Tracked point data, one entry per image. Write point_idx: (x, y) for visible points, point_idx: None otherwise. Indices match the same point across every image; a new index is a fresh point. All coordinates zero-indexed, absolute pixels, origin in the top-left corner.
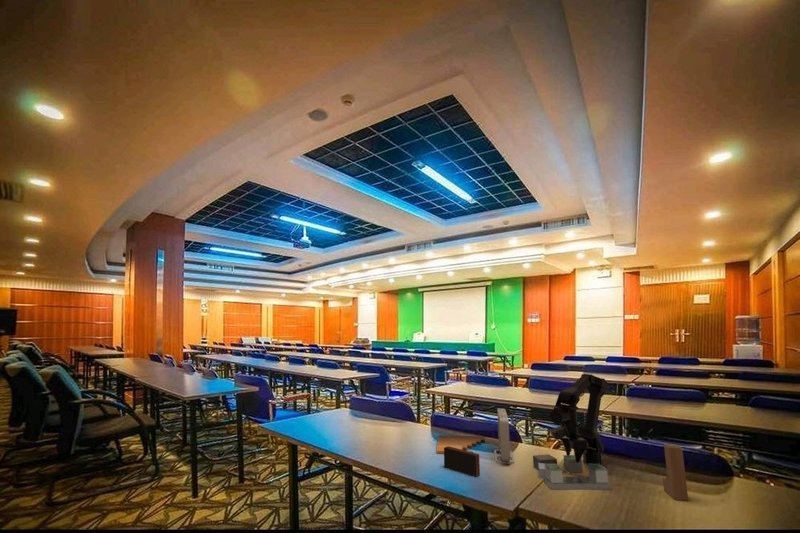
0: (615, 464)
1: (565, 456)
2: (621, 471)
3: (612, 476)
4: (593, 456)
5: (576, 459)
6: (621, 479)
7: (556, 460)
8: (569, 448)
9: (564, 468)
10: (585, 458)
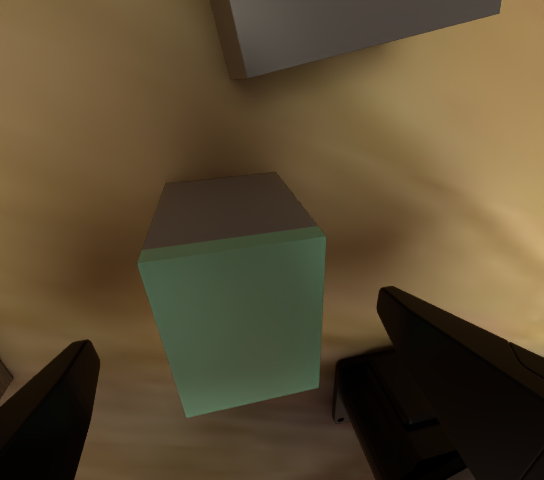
0: (355, 452)
1: (254, 252)
2: (258, 465)
3: (168, 434)
4: (370, 442)
5: (31, 381)
6: (125, 461)
7: (242, 66)
8: (433, 387)
9: (272, 175)
10: (392, 383)
